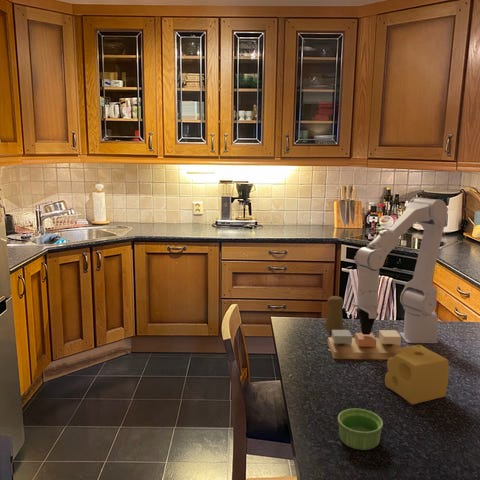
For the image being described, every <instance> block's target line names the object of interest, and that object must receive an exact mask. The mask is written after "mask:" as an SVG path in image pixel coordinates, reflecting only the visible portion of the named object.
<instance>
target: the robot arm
mask: <svg viewBox="0 0 480 480" xmlns="http://www.w3.org/2000/svg"><path fill="white" fill-rule="evenodd" d="M448 212H449V208H448V205H446V202H445V201H444V200H442V199H435V198H434V199H433V198H425V197H419V196H414V197H413V198H411V200H410V201H409V202H408V203H407V204H406V206H405V211H404V212H403V213H402V214H401V215H400V216H399V217H398V219H397V220H396V221H395V222H394V223H393V225H391V227H390V228H389V229H383V230H380V231H379V232H378V235H377V236H376V237H374V238H373V239H372V241H371V242H369V243H368V244H367V246H364V247H363V246H362V247H361V248H359V249H358V250H357V251H356V252H355V256H354V257H353V259H354V263H355V264H356V270H357V272H358V275H357V296H356V297H357V299H356V301H355V302H352V306H353V307H354V308H355V311H356V313H357V315H358V320H359V324H360V331H361V333H362V334H363V335H370V333H372V330H373V325H374V322H375V321H376V319H378V316H379V313H378V308H379V278H380V269H381V268H382V267H383V266H384V265H385V261H386V259H387V257H388V254H389V253H390V252H392V250H393V249H395V247H396V246H397V245H398V244H399V241H400V240H399V237H401V236H402V235H404V233H405V232H407V231H408V230H409V229H411V227H412V226H413V225H415V224H416V223H418V224H420V227H421V228H422V229H423V233H422V238H421V241H420V247H419V249H418V255H417V258H416V259H417V260H416V263H415V267H414V272H413V275H412V279H411V280H409V281H407V282H406V283H404V284H405V285H404V288H403V290H402V291H401V293H400V297H399V301H400V304H401V305H402V306H403V310H404V320H403V321H404V322H403V324H404V325H403V331H400V332H398V333H399V335H400V336H401V339H403V340H404V341H405V343H407V344H438V332H439V331H438V330H439V329H438V328H439V317H438V315H437V313H436V312H435V310H436V307H437V305H438V304H437V303H438V301H437V295H438V291H437V289H436V287H434V285H433V284H432V281H433V276H434V271H435V267H436V264H437V260H438V255H439V250H440V246H441V242H442V237H443V233H444V228H445V224H446V220H447V216H448Z"/></svg>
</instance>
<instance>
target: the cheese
mask: <svg viewBox="0 0 480 480" xmlns="http://www.w3.org/2000/svg"><path fill="white" fill-rule="evenodd" d="M449 365H450V364H449V360H448V359H447V358H445V357H444V356H442V355H440V354H438V353H436V352H434V351H432V350H430V349H428V348H427V347H425V346H423V345H421V344H416V345H407V346H404V347H401V348H400V349H398V351H397V354H396V355H395V356H394V357H391V358H389V359H387V362H386V367H387V372H386V373H385V375H384V385H385V387H386V388H387V389H390V390H391V391H392V392H394V393H395V394H397V395H399V396H400V397H402V398H403V399H404V400H406V401H407V402H408V403H409V404H411V405H416V404H421V403H423V402H429V401H433V400H436V399H441V398H444V397H445V398H446V394H447V390H448V385H449V384H448V383H449V377H450V376H449V374H450V373H449V372H450V371H449V370H450V366H449Z"/></svg>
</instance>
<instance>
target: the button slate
mask: <svg viewBox="0 0 480 480" xmlns="http://www.w3.org/2000/svg"><path fill="white" fill-rule="evenodd" d="M331 337H332V339H333V341H334V343H348V344H352V338H353V335H352V333H351V332H350V329H344V330H332V332H331Z"/></svg>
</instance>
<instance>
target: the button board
mask: <svg viewBox="0 0 480 480" xmlns="http://www.w3.org/2000/svg"><path fill="white" fill-rule="evenodd" d="M375 338H376V347H359V346H358V345H357V343H356V341H355V337H352V344H348V343H334V341H333V339H332V336H331V337H329V336H328V338H327V344H328V348H329V349H330V352H331V355H332V358H333V359H334V360H388V359H389V358H391V357H394V356H395V355H396V354H397V351H398V349H400V348H402V347H401V344H383V343H382V341H381V340H380V338H379V337H375Z"/></svg>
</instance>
